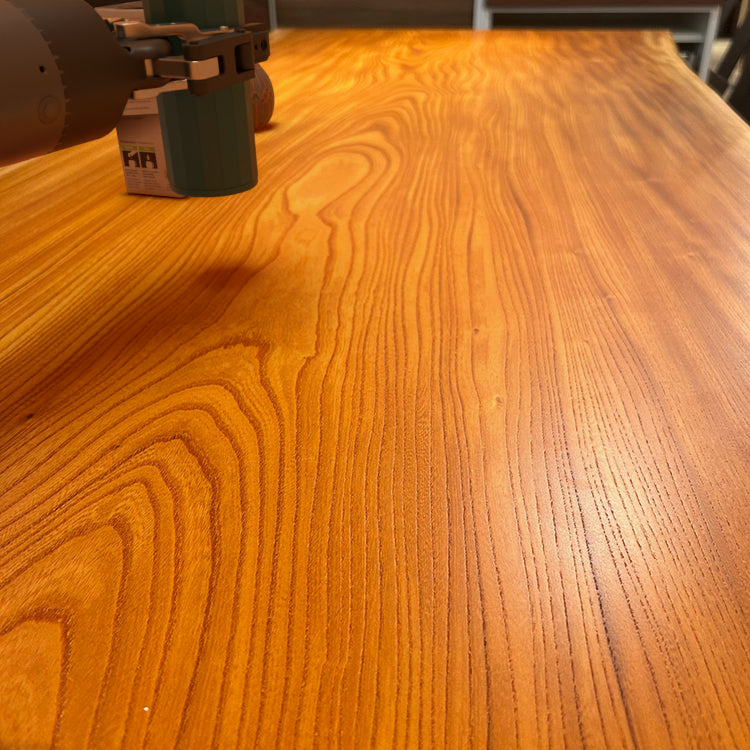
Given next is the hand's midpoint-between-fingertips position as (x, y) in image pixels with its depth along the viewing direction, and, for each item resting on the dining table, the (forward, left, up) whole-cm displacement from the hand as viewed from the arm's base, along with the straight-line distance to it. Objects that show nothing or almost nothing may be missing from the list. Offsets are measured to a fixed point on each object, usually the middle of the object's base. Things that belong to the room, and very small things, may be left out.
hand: (221, 38), depth 50 cm
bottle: (-1, -2, -9) cm, 9 cm away
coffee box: (-13, +18, -16) cm, 28 cm away
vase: (-14, +41, -16) cm, 46 cm away
